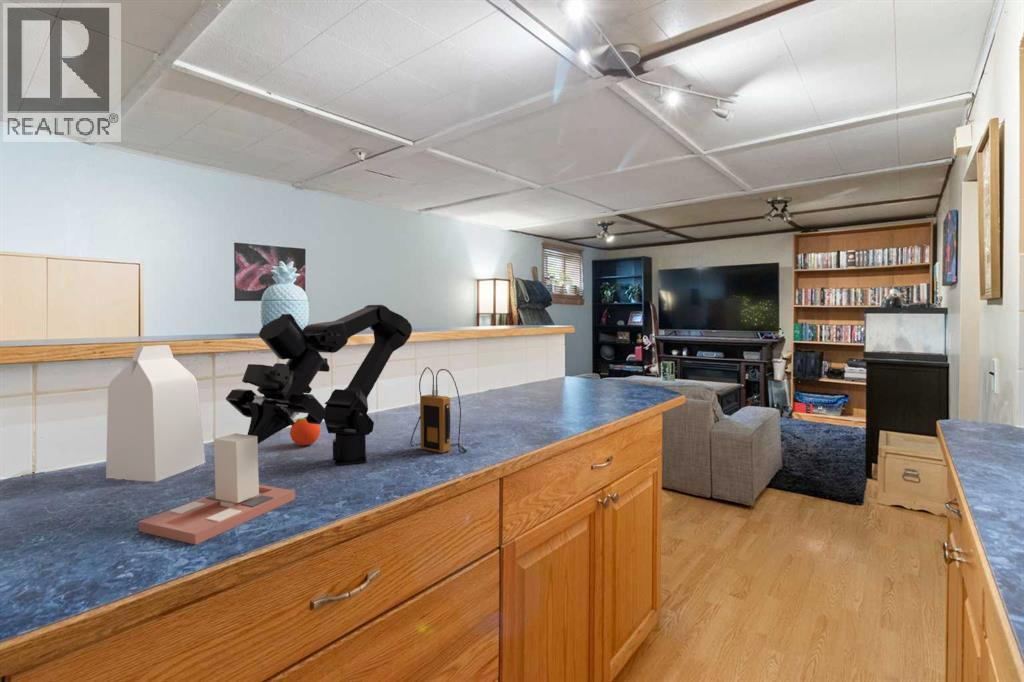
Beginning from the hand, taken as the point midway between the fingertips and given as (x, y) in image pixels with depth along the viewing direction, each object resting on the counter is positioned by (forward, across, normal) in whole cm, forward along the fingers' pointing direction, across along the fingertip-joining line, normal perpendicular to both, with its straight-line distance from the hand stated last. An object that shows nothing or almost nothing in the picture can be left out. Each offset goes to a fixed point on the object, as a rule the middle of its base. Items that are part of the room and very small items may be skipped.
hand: (248, 446), depth 82 cm
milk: (+3, -33, +12) cm, 35 cm away
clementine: (-16, -19, +30) cm, 39 cm away
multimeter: (-24, +14, +38) cm, 47 cm away
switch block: (+10, 0, +4) cm, 11 cm away
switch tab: (+8, 0, +5) cm, 10 cm away
